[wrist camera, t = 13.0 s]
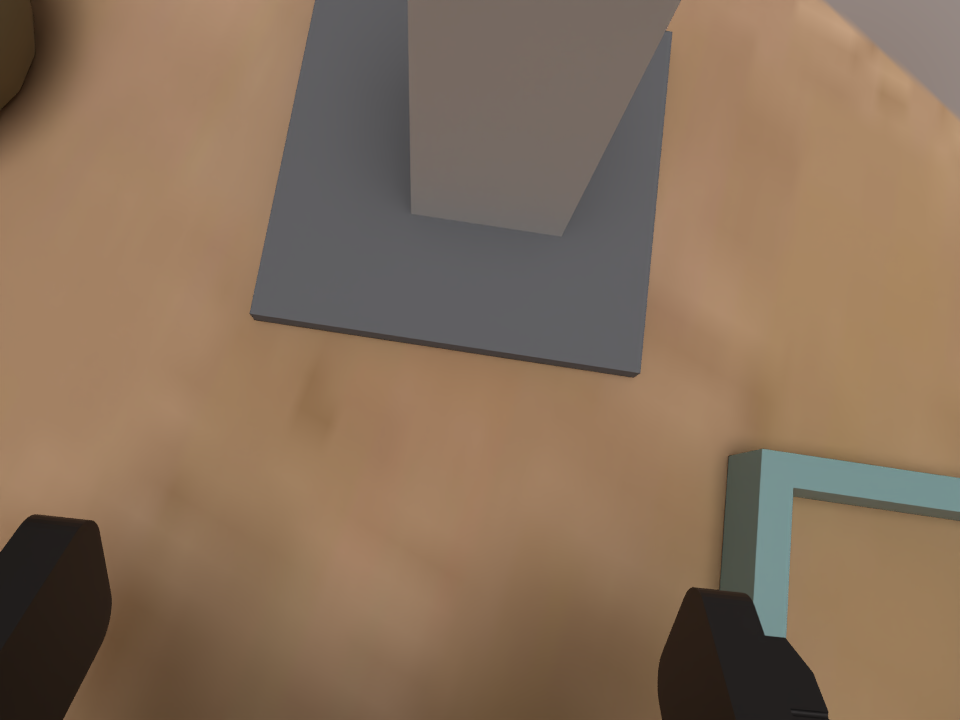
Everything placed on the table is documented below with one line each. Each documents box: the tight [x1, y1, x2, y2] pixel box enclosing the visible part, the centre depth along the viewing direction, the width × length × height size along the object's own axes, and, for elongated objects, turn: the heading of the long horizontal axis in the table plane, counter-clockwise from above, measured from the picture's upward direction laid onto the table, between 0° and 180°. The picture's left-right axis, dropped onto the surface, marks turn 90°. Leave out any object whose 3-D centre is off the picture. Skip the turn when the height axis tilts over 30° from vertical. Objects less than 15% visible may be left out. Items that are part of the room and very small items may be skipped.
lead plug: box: [408, 0, 681, 237], centre depth 15 cm, size 4×4×11 cm
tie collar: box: [720, 449, 960, 638], centre depth 19 cm, size 9×9×2 cm
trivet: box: [250, 0, 672, 377], centre depth 21 cm, size 10×10×1 cm
